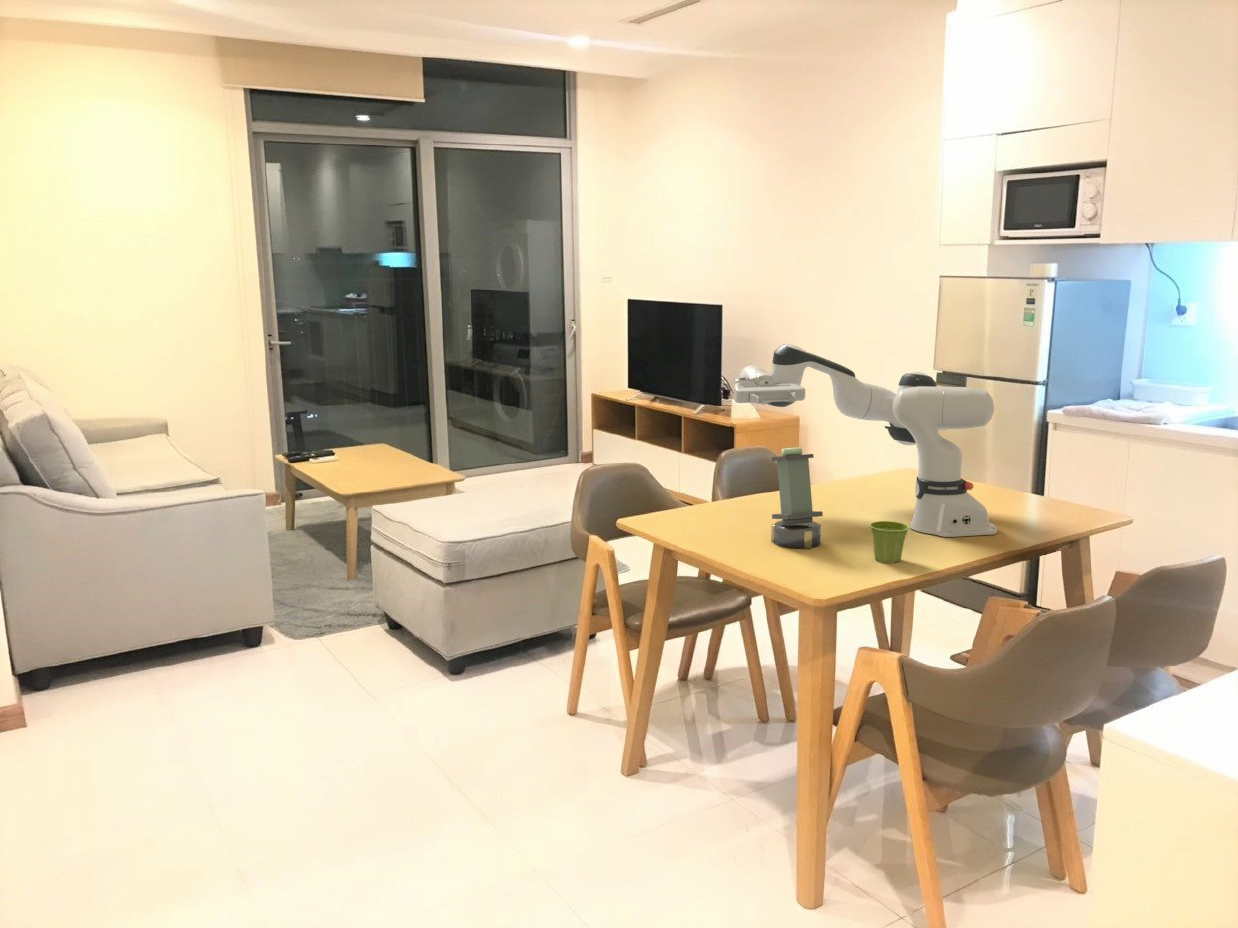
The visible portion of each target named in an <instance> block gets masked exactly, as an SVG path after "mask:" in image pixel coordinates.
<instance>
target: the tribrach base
mask: <svg viewBox="0 0 1238 928" xmlns="http://www.w3.org/2000/svg"><path fill="white" fill-rule="evenodd" d="M821 527H822V525H821V524H820V523H818V522H816V521H814V520H813V521H812V522H809V523H799V524H789V525H783V523H782V520H779V521H776V522H775V523H772V524H771V531H770V534H771V535H770V538H771V539H770V542H771V543H772V542H773V544H774V545H775V546H777V547H780V548H785V549H789V550H790V549H792V550H812V549H813V548H818V547H819V546H820V545H821V534H822V528H821Z"/></svg>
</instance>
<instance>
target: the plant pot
mask: <svg viewBox="0 0 1238 928" xmlns="http://www.w3.org/2000/svg"><path fill="white" fill-rule="evenodd" d="M869 528H870V529H871V530H870V531H871V533H872V539H873V542H872V543H873V549H874V553H873V554H874V559H875V560H876V561H879V562H881V563H887V564H893V563H896V562H900V561H901V559H902V555H903V550H904V544H905V538H906V536H907V533H908V531H909V530H910V525H909V524H907V523H903V522H901V521H900V522H899V521H895V520H894V521H893V520H892V521H890V520H880V521H879V520H876V521H872V522H871V523H869Z"/></svg>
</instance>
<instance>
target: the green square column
mask: <svg viewBox="0 0 1238 928" xmlns="http://www.w3.org/2000/svg"><path fill="white" fill-rule="evenodd" d="M781 455H782V456H781ZM781 455H780V456H772V457H771V461H772V462H776V464H777V476H778V477H777V478H778V489H779V492H778V493H779V501H780V513H773V514H771V520H781V521H782V523H783V525H789V524H799V523H809V522H812V521H813V522H814V519H813V518H815V517H816V518H817V517H823V516H824V515H823V513H824V512H823V511H820V510H819V511H818V510H817V511H816V510H815V511H813V499H812V497H813V496H812V489H811V488H812V487H811V476H810V475H811V474H810V462H809V461H810V460H809V459H813V458H815V457H814V454H813V453H806V454H803V448H802V447H787V448H782V449H781Z"/></svg>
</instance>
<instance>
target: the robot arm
mask: <svg viewBox="0 0 1238 928" xmlns="http://www.w3.org/2000/svg"><path fill="white" fill-rule="evenodd" d="M771 364H772V365H771V369H770V372H769V373H768V371H766V370H765V369H764V368H762V367H760V366H757V365H752V364H751V365H747V366H745V367H744V368H742V369H741V371H740V372H739V375H738V378H736V379H735V380H734V384H733V398H734V399H733V400H734V402H735V403H737V404H747V403H748V404H749V403H750V404H751V403H753V404H759V405H769V406H771V407H777V408H784V407H788V406H791V405H792V404H794V403H796V402H798V401H799V402H800V401H804V400H805V398H806V389H805V388H806V387H804V386H802V380H803V376H804V372H805V370H806V368H810V369H813V370H816V371H818V372H821V373H824V374H827V375H828V376H829V377H830V380H831V383H832V390H833V399H834V402H835V403H834V404H835V406H836V408H837V409H838V410H839V412H840V413H841V414H842V415H844V416H847V417H849V418H853V419H857V420H864V421H877V422H881V421H882V422H887V423H888V424H889V425H884V428H885V429H887V431H888V434H889V436H890V437H891V439H893V440H894V441H896V442H897V443H899V444H901V445H904V446H915V445H916V448H917V456H918V458H917V459H918V475H917V476H916V482H915V493H914V494H915V497H916V499H915V500H916V501H915V506H914V507H915V508H914V510H913V511H914V512H913V516H912V518H911V519H912V520H911V522H910V525H909V529H912V530H913V531H917V532H920V533H923V534H929V535H935V536H938V537H939V536H940V537H944V538H952V537H970V536H972V537H973V536H985V535H988V536H989V535H997V533H998V528H997V526H996V525H995V524H994V523H992V522H990V518H989V512H988V509H987V508H986V507H985V506H984V505H983V504H982V503H981V502H980V501H979V500H978V499H976V498H975V497H974V496H972V495H971V494H970V493H969V492H968V491H973V489H974V487H975V486H974V484H973V483H972V482H970V481H967V480H965V479H964V478H962V461H963V460H962V459H963V452H962V450H961V448H960V447H959V446H958V445H957V444H955V443H954V442H953V441H950V440H948V439H947V438H944V437H943V436H942V435H940V433H939V431H946V430H963V429H964V430H965V429H974V428H981V427H985V426H986V425H987V424H989V423H990V421H991V420H992V419H993V416H994V412H995V404H994V400H993V397H992V395H991V394H990V393H989V392H988V391H987V390H984V389H979V388H975V387H968V386H967V387H966V386H937V382H936V381H935V380H934V379H933V377H932V376H929V375H928V374H926V373H924V372H920V371H913V372H907V373H905V374H903V375H902V376H901V378H900V380H899V382H898V388H897V390H896V391H897V392H896V393H895V392H894V391H892V390H889V389H886V388H885V387H881V386H878V385H874V384H871V383H867V382H866V383H865V382H862V381H860V380H859V379H858V378H857V377H856V374H855V372H854V371H853V370H851V369H850V368H848V367H846V366H844V365H842V364H839V363H838V362H835V361H832V360H830V359H826V358H824V357H821V356H819V355H816V354H815V353H810V352H809V351H806V350H805V349H803V348H801V347H799V346H798V345H795V344H792V343H791V344H790V343H787V344H786V343H784V344H781V345H779V346H778V347H777V348H776V349H775V350H774V351H773V356H772V363H771Z"/></svg>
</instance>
